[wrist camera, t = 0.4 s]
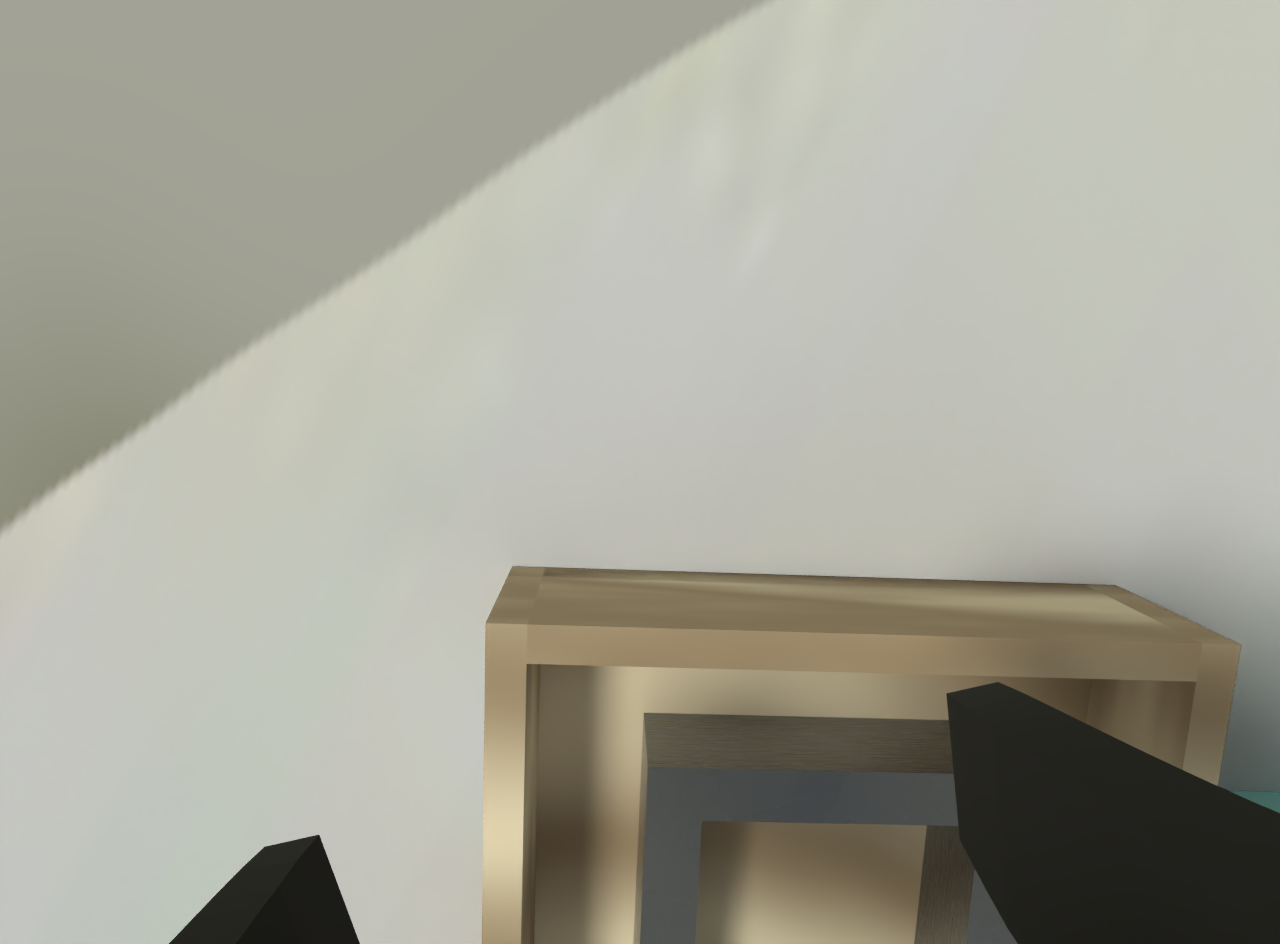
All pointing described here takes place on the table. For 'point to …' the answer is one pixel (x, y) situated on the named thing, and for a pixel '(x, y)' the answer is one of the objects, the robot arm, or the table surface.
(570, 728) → the oak box
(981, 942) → the frame
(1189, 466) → the table surface
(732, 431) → the table surface
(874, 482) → the table surface
